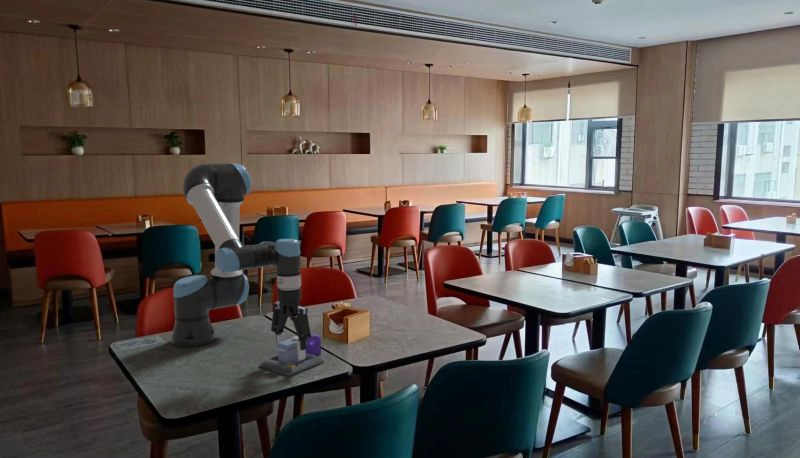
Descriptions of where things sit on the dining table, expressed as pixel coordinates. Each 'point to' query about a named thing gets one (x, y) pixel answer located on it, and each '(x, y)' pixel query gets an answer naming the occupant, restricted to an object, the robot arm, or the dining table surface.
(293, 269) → the robot arm
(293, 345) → the servo
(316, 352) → the purple block
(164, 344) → the dining table surface
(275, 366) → the tray
